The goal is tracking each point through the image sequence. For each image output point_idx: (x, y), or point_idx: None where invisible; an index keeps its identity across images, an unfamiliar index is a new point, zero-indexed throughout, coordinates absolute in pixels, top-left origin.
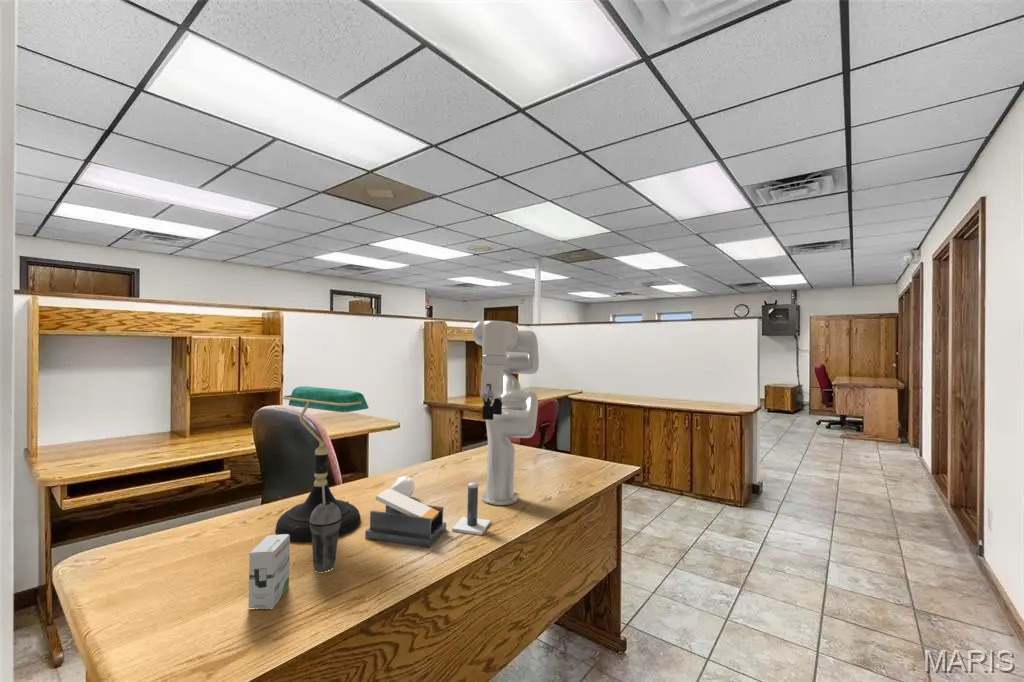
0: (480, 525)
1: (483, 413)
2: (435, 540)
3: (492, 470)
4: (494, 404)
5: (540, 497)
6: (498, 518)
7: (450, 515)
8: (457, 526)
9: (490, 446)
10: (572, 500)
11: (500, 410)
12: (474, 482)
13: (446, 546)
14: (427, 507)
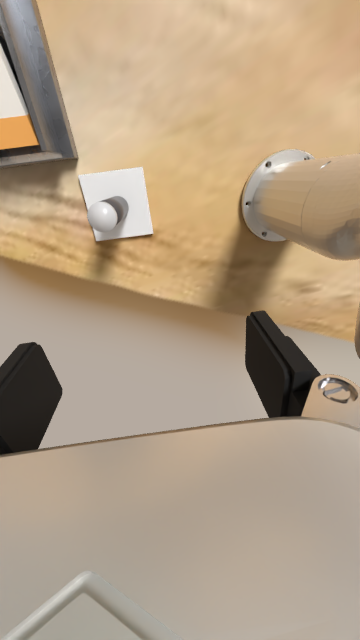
0: (121, 225)
1: (2, 372)
2: (22, 165)
3: (286, 193)
4: (273, 376)
5: (308, 274)
6: (179, 238)
7: (149, 124)
8: (92, 182)
9: (338, 181)
10: (303, 326)
11: (255, 382)
12: (115, 215)
13: (20, 200)
14: (13, 104)
